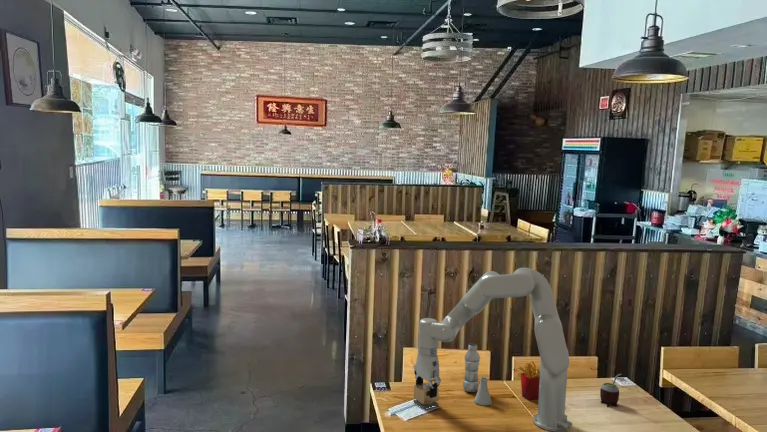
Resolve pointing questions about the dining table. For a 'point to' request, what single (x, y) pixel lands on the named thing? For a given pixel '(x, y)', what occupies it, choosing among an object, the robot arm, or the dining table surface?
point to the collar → (424, 394)
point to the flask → (483, 393)
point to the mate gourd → (609, 393)
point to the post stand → (424, 406)
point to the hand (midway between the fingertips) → (426, 392)
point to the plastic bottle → (471, 369)
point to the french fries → (530, 382)
